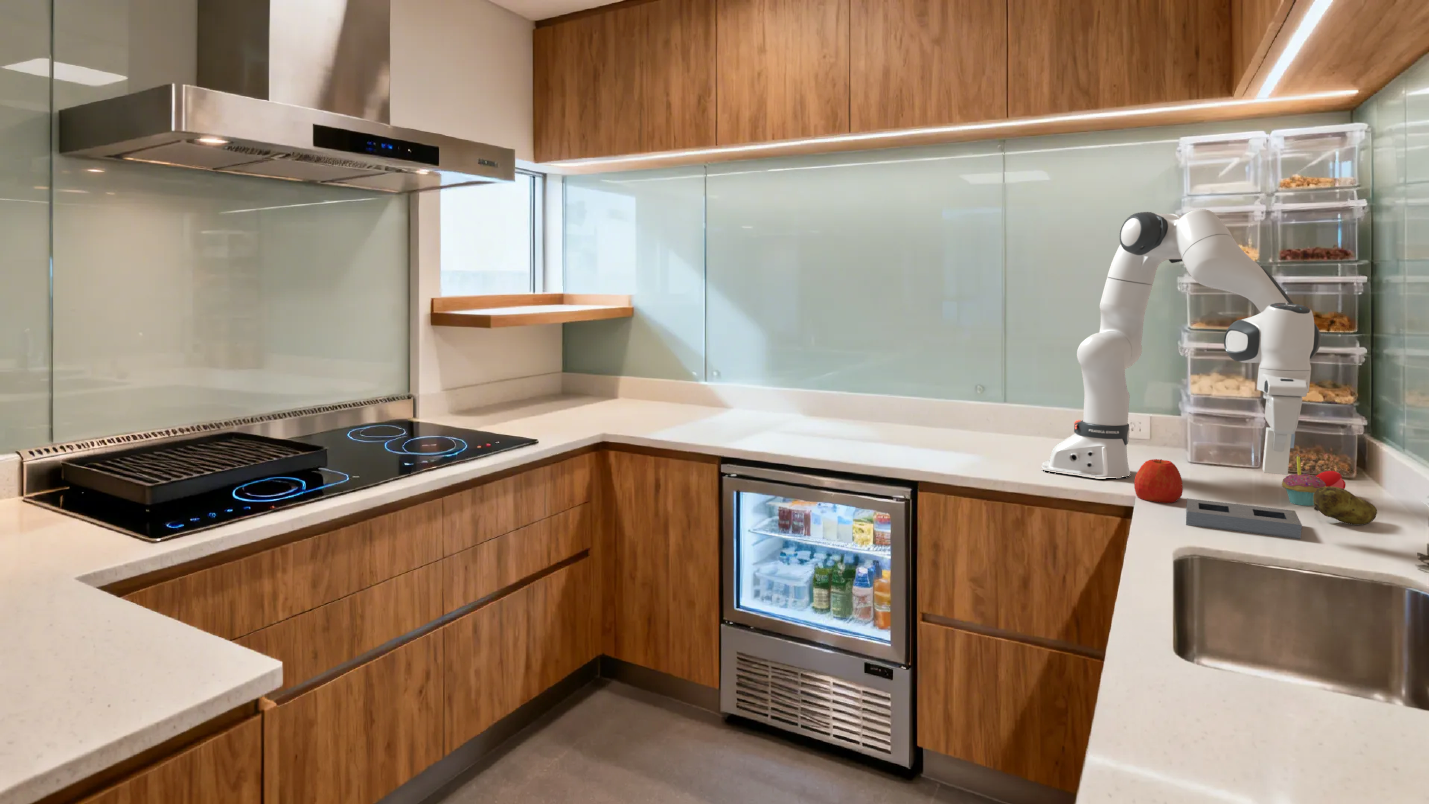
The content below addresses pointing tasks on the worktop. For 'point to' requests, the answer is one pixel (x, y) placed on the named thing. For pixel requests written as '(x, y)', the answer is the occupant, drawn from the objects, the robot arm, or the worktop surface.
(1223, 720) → the worktop surface
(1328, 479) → the cap
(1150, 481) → the apple
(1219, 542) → the worktop surface
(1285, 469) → the plug
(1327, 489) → the potato
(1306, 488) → the cupcake
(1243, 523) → the panel
